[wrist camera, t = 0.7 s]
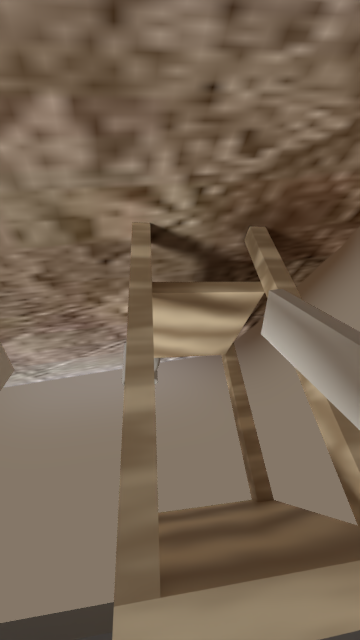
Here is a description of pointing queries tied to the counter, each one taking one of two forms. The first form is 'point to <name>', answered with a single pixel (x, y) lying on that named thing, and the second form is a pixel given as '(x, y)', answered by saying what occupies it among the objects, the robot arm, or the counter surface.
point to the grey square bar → (81, 626)
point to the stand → (231, 518)
